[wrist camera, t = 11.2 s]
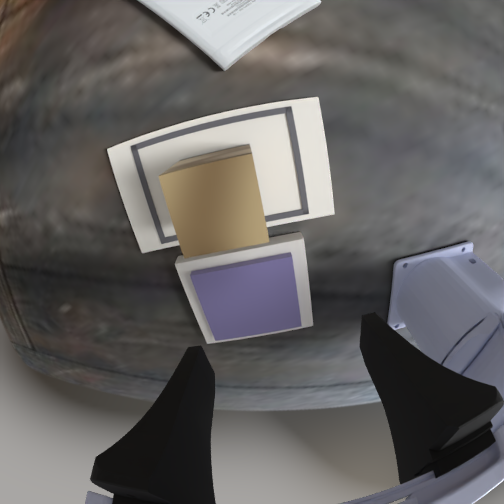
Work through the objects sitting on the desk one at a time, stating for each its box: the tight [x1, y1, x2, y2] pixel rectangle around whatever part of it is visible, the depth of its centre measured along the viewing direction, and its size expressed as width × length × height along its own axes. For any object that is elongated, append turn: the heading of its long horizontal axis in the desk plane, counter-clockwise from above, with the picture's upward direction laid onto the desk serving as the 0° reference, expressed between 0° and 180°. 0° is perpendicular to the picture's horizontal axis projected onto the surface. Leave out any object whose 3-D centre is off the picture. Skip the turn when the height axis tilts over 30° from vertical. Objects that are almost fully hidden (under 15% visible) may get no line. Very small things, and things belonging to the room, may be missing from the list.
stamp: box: [158, 144, 269, 259], centre depth 15 cm, size 4×4×5 cm
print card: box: [107, 97, 334, 253], centre depth 17 cm, size 14×8×1 cm, turn 102°
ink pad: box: [175, 232, 313, 344], centre depth 21 cm, size 9×8×2 cm
